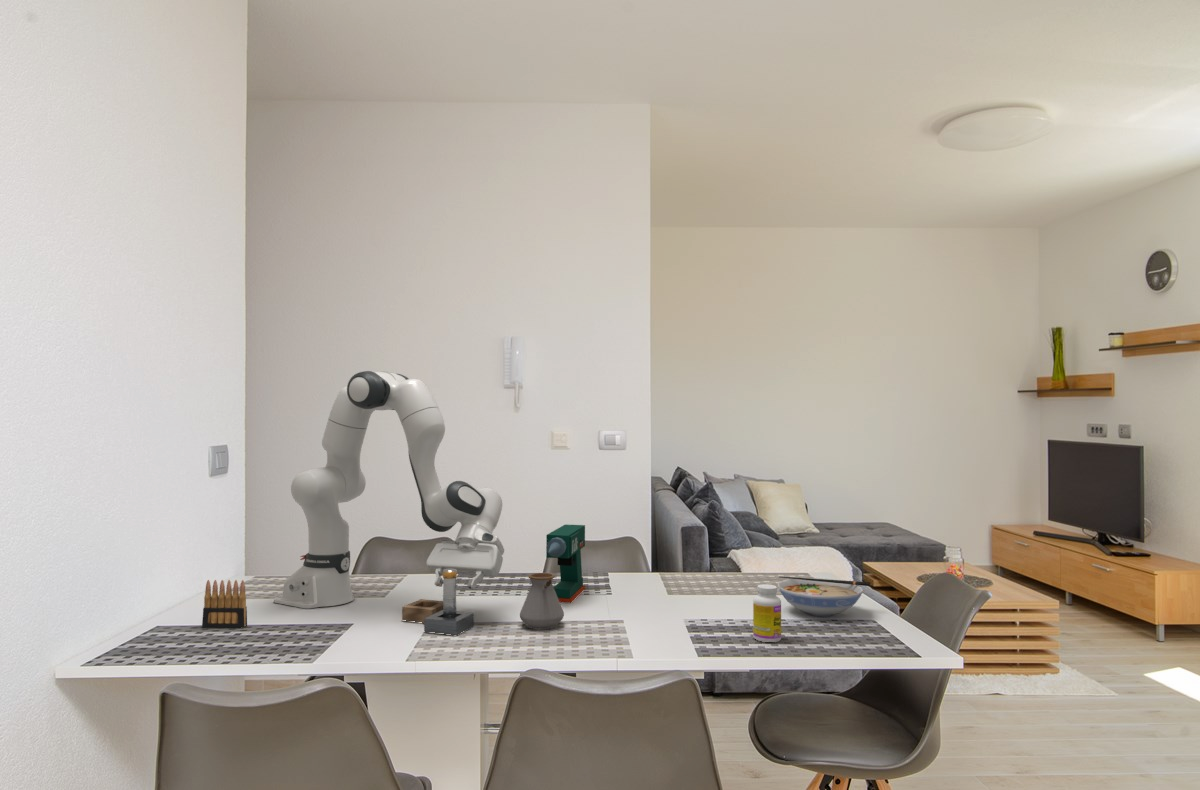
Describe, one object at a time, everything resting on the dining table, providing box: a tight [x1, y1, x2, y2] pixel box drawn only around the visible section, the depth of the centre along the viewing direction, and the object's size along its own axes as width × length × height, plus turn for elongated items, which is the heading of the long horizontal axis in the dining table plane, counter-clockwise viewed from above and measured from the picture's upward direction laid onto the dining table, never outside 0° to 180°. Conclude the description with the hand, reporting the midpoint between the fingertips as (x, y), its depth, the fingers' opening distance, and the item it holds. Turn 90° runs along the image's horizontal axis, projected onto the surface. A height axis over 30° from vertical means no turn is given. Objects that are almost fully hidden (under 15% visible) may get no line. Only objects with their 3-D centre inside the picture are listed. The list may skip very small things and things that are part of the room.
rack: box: [401, 598, 443, 623], centre depth 200 cm, size 9×9×4 cm
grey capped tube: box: [442, 569, 458, 619], centre depth 190 cm, size 3×3×15 cm
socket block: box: [423, 610, 475, 636], centre depth 190 cm, size 9×9×4 cm
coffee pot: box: [519, 572, 565, 630], centre depth 190 cm, size 21×12×15 cm, turn 11°
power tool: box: [545, 524, 586, 604], centre depth 221 cm, size 32×7×20 cm, turn 168°
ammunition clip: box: [201, 579, 248, 629], centre depth 192 cm, size 11×2×12 cm, turn 90°
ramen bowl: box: [777, 576, 871, 617], centre depth 208 cm, size 25×23×8 cm
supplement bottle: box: [752, 583, 782, 643], centre depth 183 cm, size 7×7×13 cm
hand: (454, 586), depth 192 cm, fingers open, 8 cm apart
